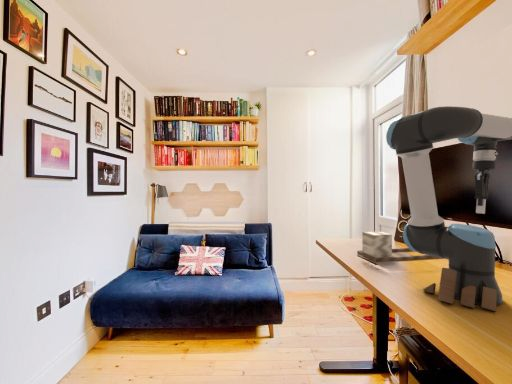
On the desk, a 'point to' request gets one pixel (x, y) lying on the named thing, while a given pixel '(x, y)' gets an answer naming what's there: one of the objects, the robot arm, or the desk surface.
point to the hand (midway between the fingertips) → (480, 213)
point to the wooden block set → (467, 292)
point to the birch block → (377, 244)
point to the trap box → (395, 256)
